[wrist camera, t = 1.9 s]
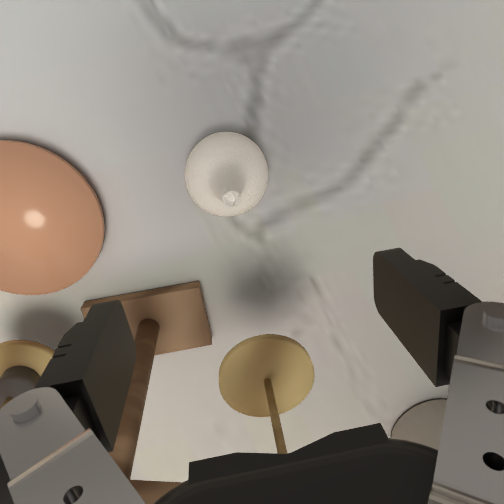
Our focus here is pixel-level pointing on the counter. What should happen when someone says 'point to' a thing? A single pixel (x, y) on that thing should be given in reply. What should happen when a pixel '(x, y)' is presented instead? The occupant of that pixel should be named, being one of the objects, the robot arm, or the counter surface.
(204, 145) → the garlic bulb
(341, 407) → the counter surface
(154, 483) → the balance
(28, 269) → the dish
